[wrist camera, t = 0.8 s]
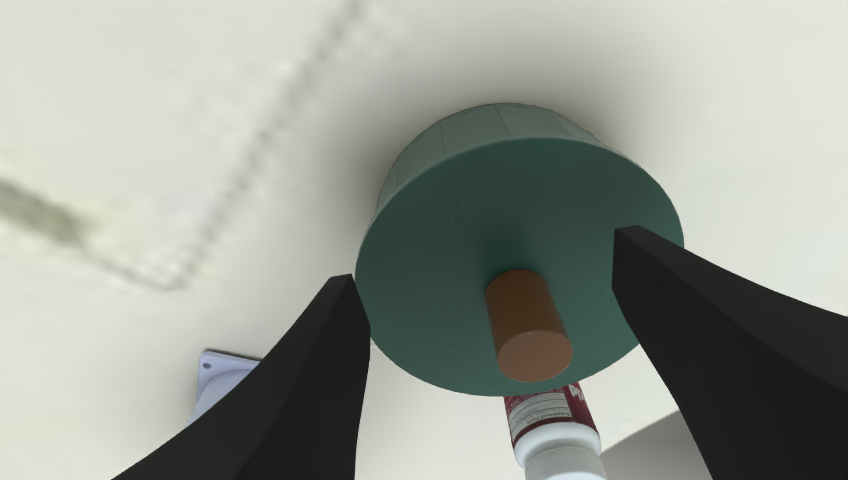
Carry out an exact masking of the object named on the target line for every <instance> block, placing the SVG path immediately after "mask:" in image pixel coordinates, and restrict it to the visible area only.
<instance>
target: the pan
mask: <svg viewBox="0 0 848 480" xmlns="http://www.w3.org/2000/svg"><path fill="white" fill-rule="evenodd" d="M526 133H541V134H559V135H566V136H572V137H579V138H582V139H585V140H589V141H592V142H596V143H599V144H601V143H600V142H599V141H598V140H597V139H596V138H595V137H594V136H592V135H591V134H590V133H589V132H587V131H585V130H583V129H582V128H580V127H579V126H577V125H576V124H574V123H573V122H571V121H570V120H568V119H567V118H565V117H563V116H561V115H559V114H556V113H554V112H552V111H550V110H547V109H543V108H539V107H536V106H530V105H523V104H506V103H500V104H491V105H483V106H479V107H475V108H471V109H466V110H464V111H461V112H458V113H456V114H453V115H451V116H448V117H446V118H445V119H443V120H441V121H439V122H437V123H435V124H434V125H432V126H431V127H429V128H428V129H427V130H425V131H424V132H422V133H421V134H420V135H419V136H418V137H416V138H415V139H414V140H413V141H412V142H411V143H410V144H409V145H408V146H407V147H406V148H405V150H404V151H403V152H402V153H401V155H400V156H399V157H398V158H397V160H396V161H395V163H394V165H393V166H392V168H391V170H390V171H389V174H388V176H387V178H386V181H385V183H384V186H383V188H382V190H381V192H380V194H379V197H378V202H377V208H376V213H377V212H378V210H379V208H380V207H381V206H382V205H383V204H384V202H385V201H386V200H387V199H388V198H389V196H390V195H391V194H392V193H393V192H394V191H395V190H396V189H397V188H398V187H399V186H400V185H401V184H403V183H404V182H405V181H406V180H407V179H408V178H409V177H410V176H412V175H413V174H415V173H416V172H417V171H419V170H420V169H422V168H423V167H425V166H426V165H428V164H429V163H431V162H432V161H434V160H436V159H438V158H440V157H442V156H444V155H446V154H448V153H450V152H452V151H454V150H457V149H460V148H462V147H465V146H468V145H470V144H473V143H476V142H479V141H484V140H488V139H492V138H496V137H501V136H508V135H517V134H526ZM376 213H375V215H376Z"/></svg>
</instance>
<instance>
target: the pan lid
mask: <svg viewBox="0 0 848 480" xmlns="http://www.w3.org/2000/svg"><path fill="white" fill-rule="evenodd" d="M633 225H640V226H642V227H644V228H646V229H648V230H650V231H652V232H654V233H656V234H658V235H660V236H662V237H664V238H665V239H667V240H669V241H671V242H673V243H675V244H677V245H678V246H680V247H682V248H684V237H683V232H682V228H681V224H680V220H679V217H678V214H677V212H676V210H675V208H674V206H673V204H672V202H671V200H670V198H669V197H668V196H667V194H666V193H665V191H664V190H663V189H662V187H661V186H660V185H659V184H658V183H657V182H656V181H655V180H654V179H653V178H652V177H651V176H650V175H649V174H648V173H647V172H646V171H645V170H644V169H643V168H642V167H641V166H639V165H638V164H636V163H635V162H633V161H632V160H630V159H629V158H627V157H626V156H625V155H623V154H621V153H619V152H617V151H615V150H613V149H611V148H608V147H606V146H604V145H602V144H599V143H596V142H592V141H589V140H585V139H582V138H579V137H572V136H566V135H559V134H541V133H526V134H517V135H508V136H501V137H496V138H492V139H488V140H484V141H479V142H476V143H473V144H470V145H468V146H465V147H462V148H460V149H457V150H454V151H452V152H450V153H448V154H446V155H444V156H442V157H440V158H438V159H436V160H434V161H432V162H431V163H429V164H428V165H426V166H425V167H423V168H422V169H420V170H419V171H417V172H416V173H415V174H413V175H412V176H410V177H409V178H408V179H407V180H406V181H405V182H404V183H403V184H401V185H400V186H399V187H398V188H397V189H396V190H395V191H394V192H393V193H392V194H391V195H390V196H389V198H388V199H387V200H386V201H385V202H384V204H383V205H382V206H381V207H380V208H379V210H378V212H377V213H376V215H375V216H374V218H373V220H372V221H371V223H370V224H369V226H368V229H367V231H366V233H365V236H364V238H363V240H362V243H361V246H360V250H359V254H358V258H357V262H356V269H355V281H354V282H355V285H356V288H357V290H358V293H359V296H360V299H361V301H362V304H363V307H364V309H365V312H366V315H367V318H368V320H369V323H370V326H371V338H372V340H373V341H374V343H375V344H376V345H377V346H378V347H379V348H380V350H381V351H382V352H383V353H384V354H385V355H386V356H387V357H388V358H389V359H390V360H392V361H393V362H394V363H395V364H396V365H397V366H399V367H400V368H402V369H403V370H405V371H406V372H408V373H409V374H411V375H413V376H415V377H417V378H419V379H421V380H422V381H425V382H427V383H430V384H432V385H435V386H437V387H440V388H444V389H447V390H451V391H454V392H459V393H465V394H470V395H479V396H519V395H528V394H534V393H540V392H545V391H549V390H553V389H557V388H560V387H563V386H566V385H569V384H572V383H575V382H578V381H580V380H582V379H585V378H587V377H589V376H592V375H594V374H596V373H597V372H599V371H601V370H603V369H605V368H607V367H609V366H610V365H612V364H613V363H615V362H616V361H618V360H619V359H621V358H622V357H624V356H625V355H626V354H627V353H629V352H630V351H631V350H632V349H634V348H635V347H636V346H637V345H638V344H639V341H638V340H637V338H636V337H635V335H634V333H633V332H632V330H631V328H630V327H629V325H628V323H627V322H626V320H625V318H624V316H623V313H622V311H621V309H620V307H619V305H618V302H617V300H616V298H615V295H614V293H613V291H612V267H613V247H614V229H615V228H621V227H627V226H633Z"/></svg>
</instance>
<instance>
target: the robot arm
mask: <svg viewBox="0 0 848 480" xmlns="http://www.w3.org/2000/svg"><path fill="white" fill-rule="evenodd" d="M612 291H613V293H614V295H615V298H616V300H617V302H618V305H619V307H620V309H621V311H622V313H623V316H624V318H625V320H626V322H627V323H628V325H629V327H630V328H631V330H632V332H633V333H634V335H635V337H636V338H637V340H638V341H639V343H640V345H641V346H642V348H643V349H644V351H645V353H646V354H647V356H648V358H649V359H650V361H651V362H652V364H653V366H654V367H655V369H656V370H657V372H658V374H659V375H660V377H661V378H662V380H663V382H664V383H665V385H666V386H667V388H668V390H669V391H670V393H671V395H672V397H673V398H674V400H675V402H676V404H677V405H678V407H679V409H680V411H681V413H682V415H683V417H684V419H685V421H686V423H687V426H688V428H689V429H690V432H691V433H692V435H693V438H694V440H695V442H696V444H697V446H698V448H699V450H700V453H701V455H702V457H703V459H704V461H705V463H706V465H707V468H708V470H709V472H710V474H711V476H712V479H713V480H848V317H846V316H843V315H840V314H837V313H833V312H830V311H827V310H824V309H821V308H819V307H816V306H813V305H810V304H807V303H804V302H802V301H799V300H797V299H794V298H791V297H789V296H786V295H783V294H781V293H778V292H775V291H773V290H771V289H768V288H766V287H763V286H761V285H758V284H756V283H754V282H752V281H749V280H747V279H745V278H743V277H741V276H738V275H736V274H734V273H732V272H730V271H728V270H725V269H723V268H721V267H719V266H717V265H715V264H713V263H711V262H709V261H707V260H705V259H703V258H701V257H699V256H697V255H695V254H693V253H692V252H690V251H688V250H686V249H684V248H682V247H680V246H678V245H677V244H675V243H673V242H671V241H669V240H667V239H665V238H664V237H662V236H660V235H658V234H656V233H654V232H652V231H650V230H648V229H646V228H644V227H642V226H640V225H633V226H627V227H621V228H615V229H614V247H613V267H612ZM370 337H371V326H370V323H369V320H368V318H367V315H366V312H365V309H364V307H363V304H362V301H361V299H360V296H359V293H358V290H357V288H356V285H355V282H354V280H353V277H352V274H345V275H340V276H334V277H330V278H329V279H328V281H327V282H326V283H325V284H324V286H323V287H322V288H321V290H320V291H319V292H318V293H317V295H316V296H315V297H314V299H313V300H312V301H311V303H310V304H309V305H308V307H307V308H306V309H305V310H304V312H303V313H302V314H301V315H300V317H299V318H298V319H297V320H296V322H295V323H294V324H293V325H292V327H291V328H290V329H289V330H288V331H287V332H286V334H285V335H284V336H283V337H282V338H281V339H280V340H279V342H278V343H277V344H276V345H275V346H274V347H273V348H272V350H271V351H270V352H269V353H268V354H267V355H266V356H265V357H264V358H263V360H262V361H261V362H259V361H254V360H250V359H245V358H240V357H235V356H230V355H225V354H220V353H216V352H211V351H206V352H203V353H202V355H201V356H200V359H199V373H198V387H197V400H196V406H195V408H194V410H193V412H192V414H191V416H190V418H189V420H188V421H187V423H186V425H185V427H184V429H183V430H182V431H181V432H180V433H178V434H177V435H176V436H174V437H173V438H172V439H170V440H169V441H167V442H166V443H165V444H163V445H162V446H161V447H159V448H158V449H156V450H155V451H154V452H152V453H151V454H149V455H148V456H146V457H145V458H143V459H142V460H140V461H139V462H137V463H136V464H134V465H133V466H131V467H130V468H128V469H127V470H125V471H124V472H122V473H121V474H119V475H118V476H116V477H114V478H113V479H111V480H354V478H355V461H356V446H357V438H358V430H359V424H360V418H361V412H362V405H363V399H364V393H365V387H366V381H367V374H368V368H369V361H370Z"/></svg>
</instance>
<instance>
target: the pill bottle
mask: <svg viewBox="0 0 848 480" xmlns="http://www.w3.org/2000/svg"><path fill="white" fill-rule="evenodd" d="M503 397H504V403H505V409H506V414H507V420H508V425H509V429H510V435H511V442H512V446H513V450H514V455H515V458H516V461H517V462H518V464H519V465H520V467H521V468H522V469H523V470H525V476H526V480H608V479H607V477H606V473H605V471H604V467H603V464H602V462H601V461H600V459H599V456H600V453H601V441H600V436H599V433H598V431H597V429H596V426H595V424H594V422H593V419H592V417H591V414H590V411H589V409H588V406H587V403H586V401H585V398H584V395H583V393H582V390H581V388H580V385H579V382H575V383H572V384H569V385H566V386H563V387H560V388H557V389H553V390H549V391H545V392H540V393H534V394H528V395H519V396H503Z"/></svg>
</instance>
